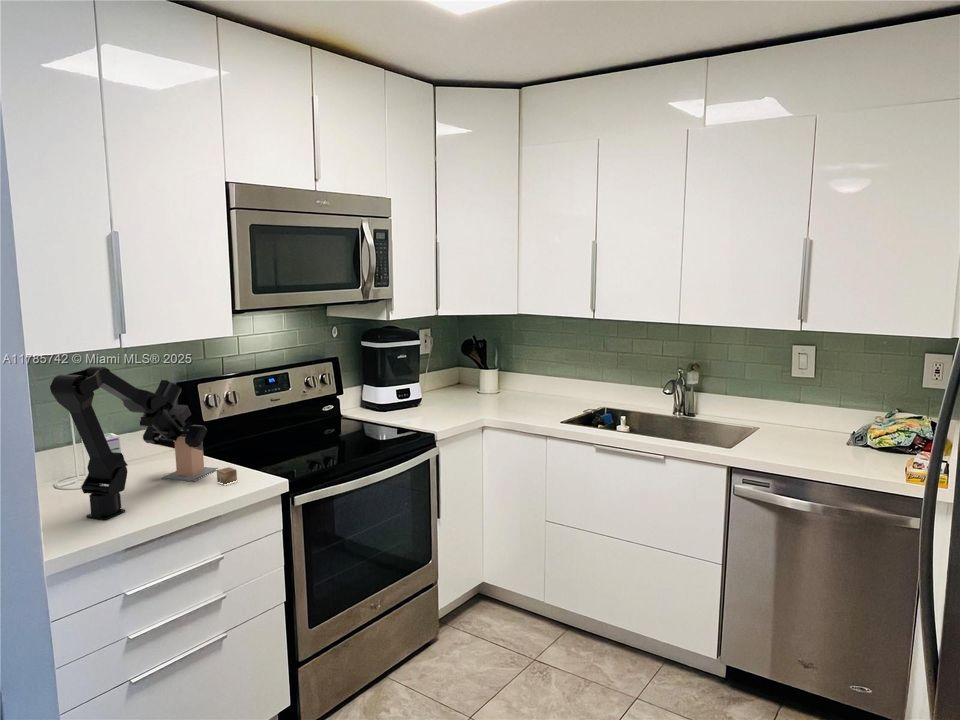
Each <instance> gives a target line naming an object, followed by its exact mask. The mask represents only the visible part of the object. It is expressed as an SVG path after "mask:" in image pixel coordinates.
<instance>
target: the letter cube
mask: <svg viewBox="0 0 960 720" xmlns="http://www.w3.org/2000/svg"><path fill="white" fill-rule="evenodd" d="M237 473H238V472H237V469H236V468H232V467H229V466H228V467H224V468H221V469H218V470H216V479H217V480H216V481H217V482H220V483H223V484H227V483H230V482H233V481H236V480H237V481H238V474H237Z"/></svg>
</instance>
